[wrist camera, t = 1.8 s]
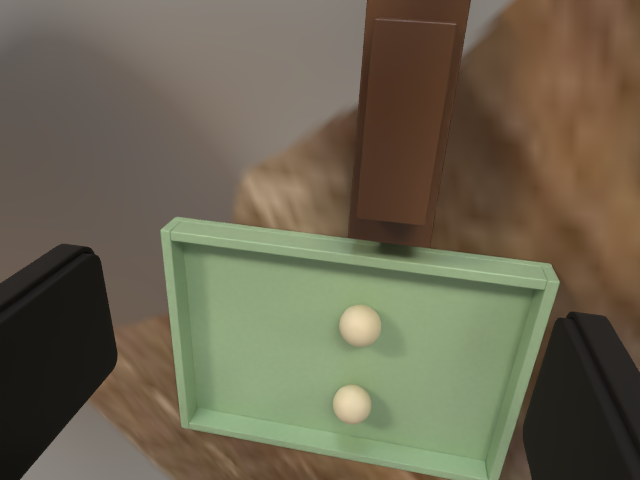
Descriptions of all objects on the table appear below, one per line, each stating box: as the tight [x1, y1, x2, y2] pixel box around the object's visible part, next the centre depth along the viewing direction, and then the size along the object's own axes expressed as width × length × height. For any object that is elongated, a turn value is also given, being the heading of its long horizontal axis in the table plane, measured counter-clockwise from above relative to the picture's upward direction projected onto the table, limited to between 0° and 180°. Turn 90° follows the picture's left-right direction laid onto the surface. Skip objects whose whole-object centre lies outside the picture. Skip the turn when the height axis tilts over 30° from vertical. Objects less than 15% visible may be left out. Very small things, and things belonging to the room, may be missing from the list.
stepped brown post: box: [348, 0, 471, 248], centre depth 22 cm, size 4×12×5 cm, turn 177°
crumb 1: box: [339, 304, 381, 347], centre depth 28 cm, size 2×2×2 cm
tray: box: [160, 217, 560, 480], centre depth 30 cm, size 21×15×2 cm
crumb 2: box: [333, 384, 371, 425], centre depth 30 cm, size 2×2×2 cm
